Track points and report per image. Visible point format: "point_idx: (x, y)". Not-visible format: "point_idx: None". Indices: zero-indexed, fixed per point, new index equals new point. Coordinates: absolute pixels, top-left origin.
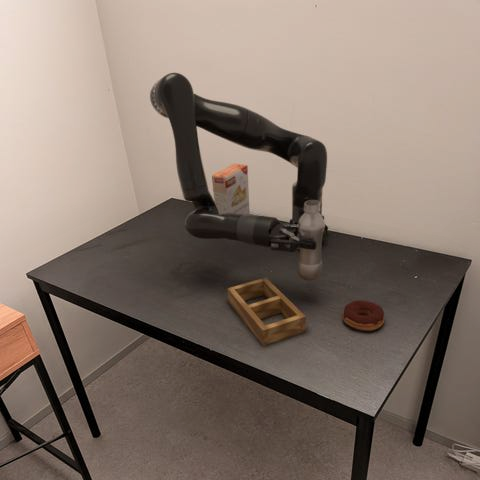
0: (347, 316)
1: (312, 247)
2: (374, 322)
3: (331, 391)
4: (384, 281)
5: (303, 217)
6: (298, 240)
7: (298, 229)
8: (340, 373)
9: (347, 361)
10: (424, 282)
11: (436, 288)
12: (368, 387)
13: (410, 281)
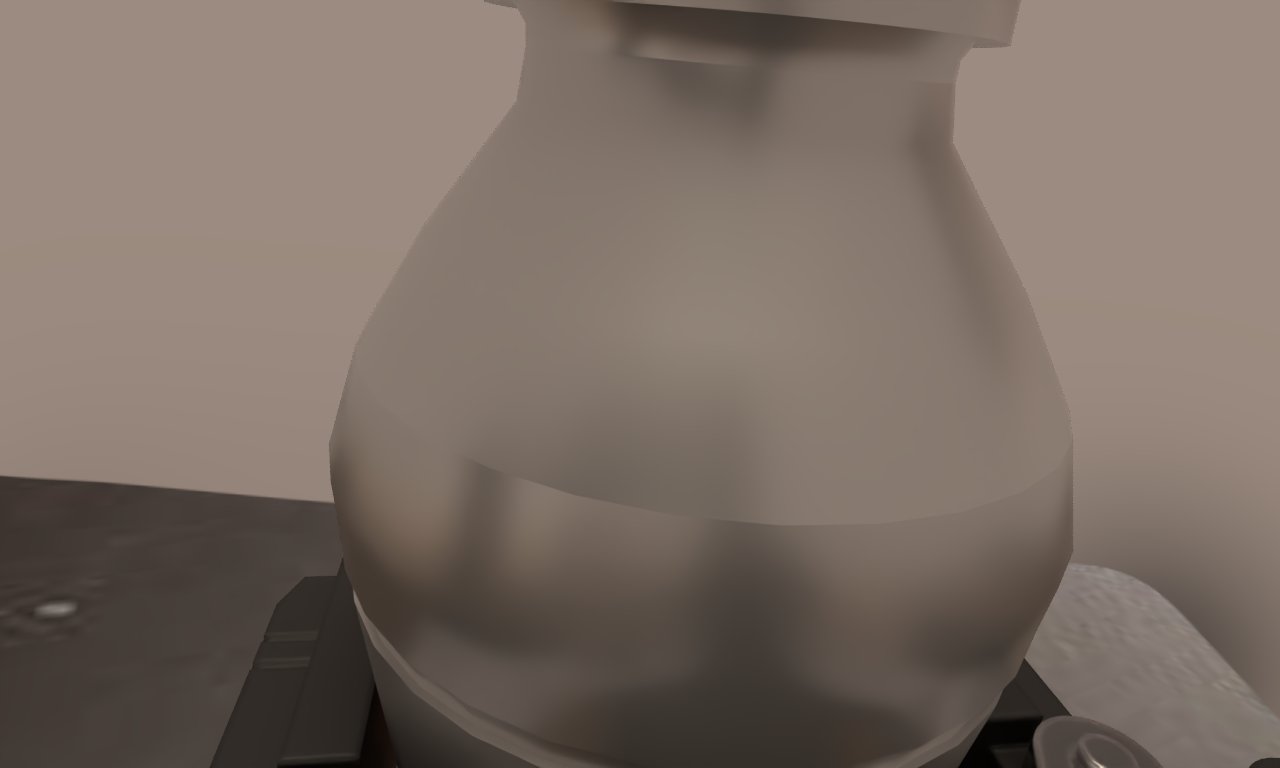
0: None
1: None
2: None
3: (1225, 694)
4: (106, 743)
5: (992, 257)
6: (1121, 741)
7: (942, 750)
8: (1109, 698)
9: None
10: (137, 569)
11: (210, 527)
12: (1057, 601)
13: (118, 620)
